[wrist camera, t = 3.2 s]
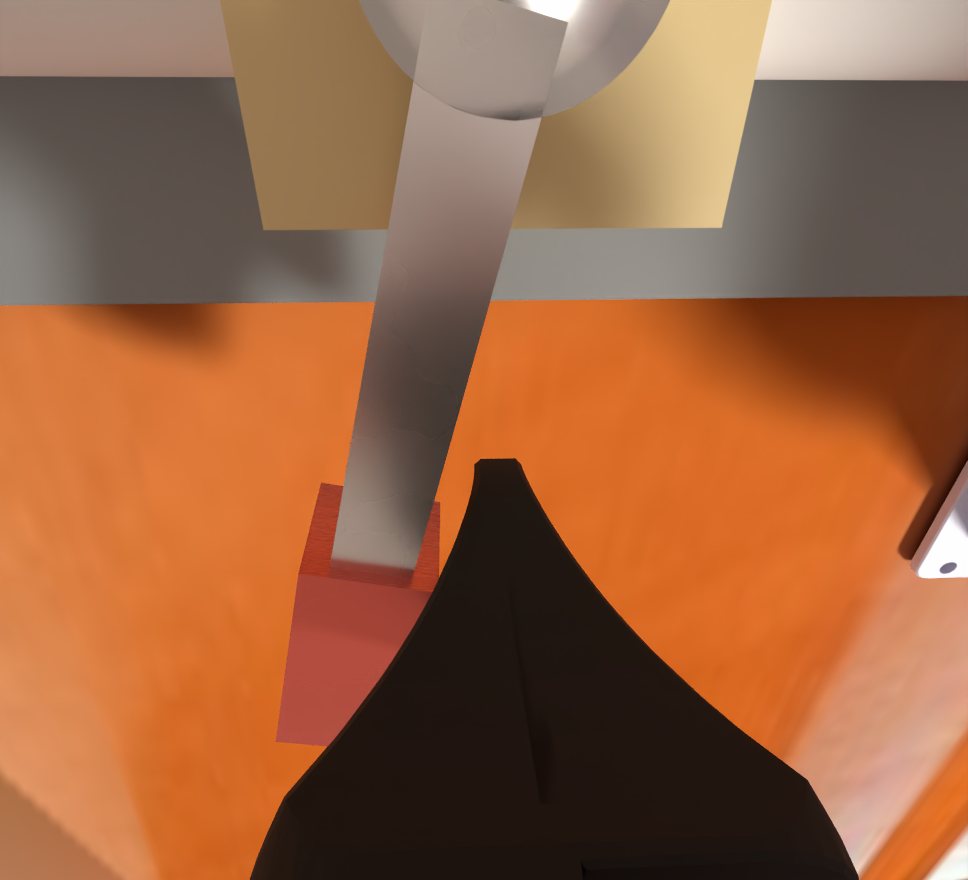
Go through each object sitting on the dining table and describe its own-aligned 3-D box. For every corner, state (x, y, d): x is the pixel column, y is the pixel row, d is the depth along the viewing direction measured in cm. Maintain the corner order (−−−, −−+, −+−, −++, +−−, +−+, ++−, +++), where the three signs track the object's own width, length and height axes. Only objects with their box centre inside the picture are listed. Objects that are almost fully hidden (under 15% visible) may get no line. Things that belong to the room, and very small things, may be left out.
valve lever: (684, -196, 6) (769, -257, 4) (414, 660, 14) (409, 753, 12) (389, -312, 6) (365, -428, 4) (277, 644, 13) (252, 739, 11)
